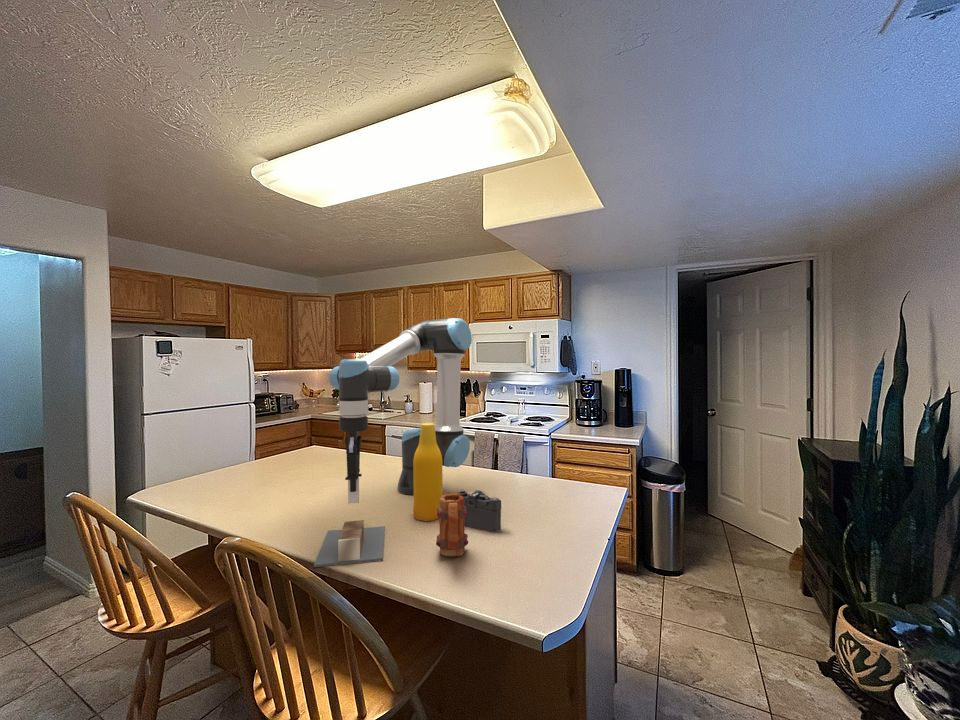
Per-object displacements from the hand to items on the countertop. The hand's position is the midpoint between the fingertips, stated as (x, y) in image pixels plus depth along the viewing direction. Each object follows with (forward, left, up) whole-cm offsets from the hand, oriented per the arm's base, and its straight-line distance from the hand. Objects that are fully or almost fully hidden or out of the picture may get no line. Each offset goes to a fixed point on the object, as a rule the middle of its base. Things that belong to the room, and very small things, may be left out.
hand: (353, 502), depth 111 cm
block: (0, 0, -8) cm, 8 cm away
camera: (-37, -5, -11) cm, 39 cm away
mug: (-25, +15, -11) cm, 31 cm away
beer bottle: (-21, -14, -11) cm, 28 cm away
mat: (0, +3, -11) cm, 11 cm away
